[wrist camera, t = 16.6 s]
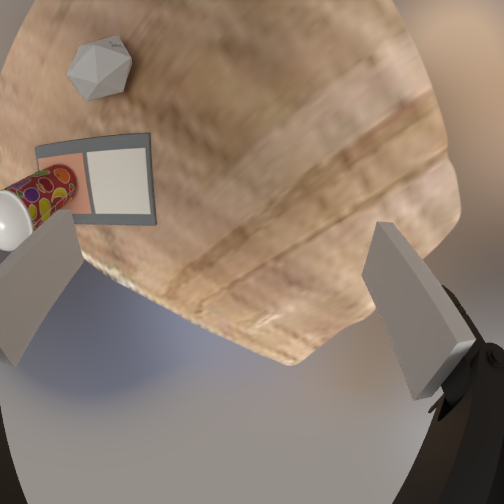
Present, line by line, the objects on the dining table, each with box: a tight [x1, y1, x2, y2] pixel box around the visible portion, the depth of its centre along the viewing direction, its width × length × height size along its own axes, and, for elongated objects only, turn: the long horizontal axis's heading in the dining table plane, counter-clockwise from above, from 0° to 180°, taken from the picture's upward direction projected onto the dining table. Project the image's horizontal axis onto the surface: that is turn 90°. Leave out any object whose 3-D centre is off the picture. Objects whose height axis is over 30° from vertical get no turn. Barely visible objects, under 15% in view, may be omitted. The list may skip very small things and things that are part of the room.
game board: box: [35, 133, 157, 226], centre depth 39 cm, size 14×21×1 cm, turn 87°
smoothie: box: [0, 165, 76, 251], centre depth 29 cm, size 8×8×20 cm
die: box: [67, 35, 132, 102], centre depth 27 cm, size 8×9×10 cm
